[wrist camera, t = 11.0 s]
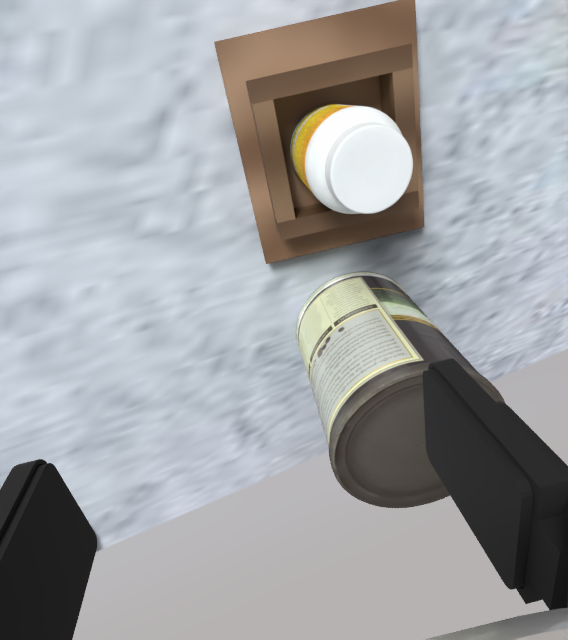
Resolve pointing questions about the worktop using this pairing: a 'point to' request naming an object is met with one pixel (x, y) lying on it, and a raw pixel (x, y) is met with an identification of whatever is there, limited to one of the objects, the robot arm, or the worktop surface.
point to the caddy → (308, 94)
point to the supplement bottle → (351, 158)
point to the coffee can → (375, 386)
